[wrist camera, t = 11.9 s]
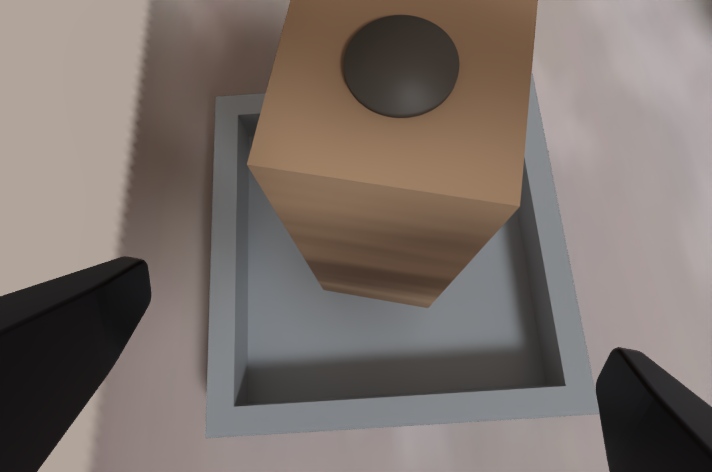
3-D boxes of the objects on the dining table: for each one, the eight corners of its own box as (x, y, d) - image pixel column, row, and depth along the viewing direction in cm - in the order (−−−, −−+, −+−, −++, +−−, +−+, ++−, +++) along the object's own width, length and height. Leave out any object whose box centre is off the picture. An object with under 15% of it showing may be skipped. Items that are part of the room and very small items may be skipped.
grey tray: (570, 408, 19) (599, 414, 16) (226, 429, 19) (205, 438, 16) (515, 105, 22) (532, 73, 20) (232, 125, 23) (215, 96, 20)
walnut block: (428, 308, 19) (522, 203, 7) (323, 289, 20) (244, 160, 8) (441, 208, 20) (541, -26, 8) (342, 193, 21) (301, -53, 9)
